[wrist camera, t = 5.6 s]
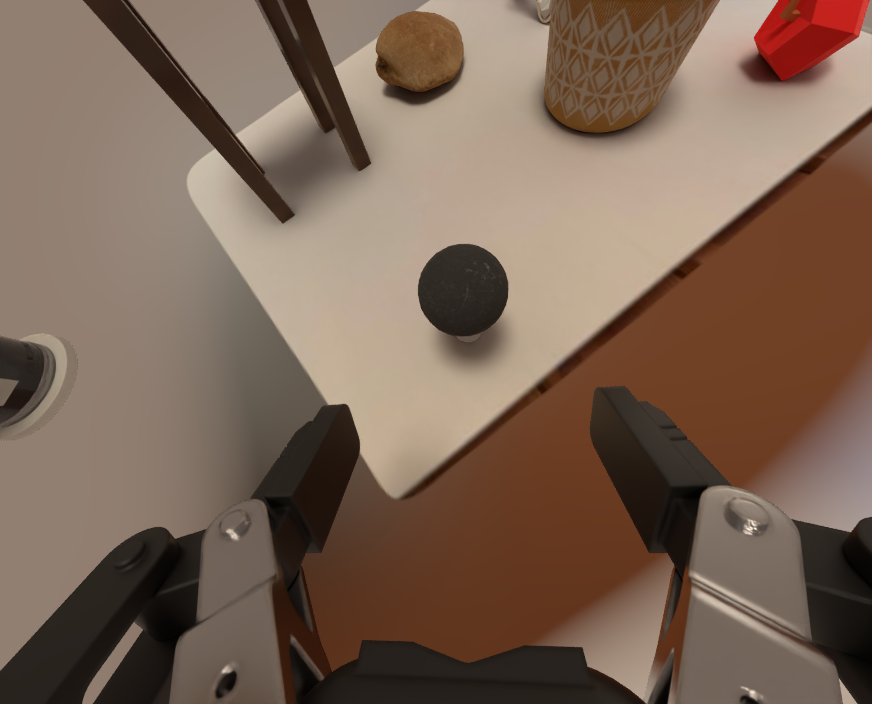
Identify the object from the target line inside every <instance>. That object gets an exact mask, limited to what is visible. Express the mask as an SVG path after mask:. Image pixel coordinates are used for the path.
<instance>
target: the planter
mask: <svg viewBox="0 0 872 704" xmlns="http://www.w3.org/2000/svg"><path fill="white" fill-rule="evenodd" d="M719 1H720V0H552V6H551V18H550V29H549V41H548V52H547V64H546V75H545V87H544V95H545V101H546V104H547V107H548V109H549V111H550V112H551V114H552V115H553V116H554V117H555V118H556V119H557V120H558V121H559V122H561V123H562V124H564V125H566V126H568V127H570V128H573V129H576V130H579V131H584V132H593V133H600V132H610V131H615V130H619V129H622V128H625V127H627V126H630V125H632V124H634V123H635V122H637V121H639V120H640V119H642V118H643V117H645V116H646V115H647V114H648V113H649V112H650V111H651V110H652V109H653V108H654V107H655V106H656V104H657V103H658V102H659V100H660V98H661V97H662V95H663V94H664V92H665V90H666V89H667V87H668V85H669V84H670V82H671V80H672V79H673V77H674V75H675V74H676V72H677V70H678V69H679V67H680V65H681V64H682V62H683V60H684V59H685V57H686V55H687V54H688V52H689V50H690V49H691V47H692V45H693V44H694V42H695V40H696V39H697V37H698V36H699V34H700V32H701V31H702V29H703V27H704V26H705V24H706V22H707V21H708V19H709V17H710V16H711V14H712V12H713V11H714V9H715V7H716V6H717V4H718V2H719Z"/></svg>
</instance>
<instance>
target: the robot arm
mask: <svg viewBox="0 0 872 704" xmlns="http://www.w3.org/2000/svg"><path fill="white" fill-rule="evenodd" d="M55 370H56V362H55V357H54V355H53V353H52V351H51V350H50V349H49V348H48V347H46V346H44V345H41V344H37V343H33V342H27V341H20V340H16V339H11V338H7V337H3V336H0V428H2V427H8V426H11V425H13V424H16V423H18V422H19V421H21V420H23V419H24V418H25V417H27V416H28V415H29V414H31V413H32V412H33V411H34V410H35V409H36V408H37V407H38V405H39V404H40V403H41V402H42V400H43V399H44V398H45V396H46V394H47V393H48V391H49V389H50V387H51V385H52V382H53V379H54V375H55ZM590 435H591V440H592V443H593V446H594V448H595V449H596V451H597V454H598V455H599V457H600V459H601V461H602V463H603V465H604V467H605V469H606V471H607V473H608V475H609V477H610V478H611V480H612V482H613V484H614V486H615V488H616V490H617V492H618V494H619V496H620V498H621V500H622V502H623V503H624V505H625V507H626V509H627V511H628V513H629V515H630V517H631V519H632V520H633V523H634V525H635V526H636V528H637V530H638V532H639V534H640V536H641V538H642V540H643V542H644V544H645V546H646V548H647V550H648V551H649V553H668V555H669V556H670V558H671V560H672V562H673V563H674V568H673V571H672V574H671V579H670V585H669V590H668V595H667V600H666V605H665V610H664V615H663V620H662V625H661V630H660V635H659V641H658V645H657V649H656V654H655V658H654V661H653V664H652V668H651V671H650V675H649V679H648V683H647V687H646V692H645V697H644V701H643V700H641V699H640V698H639V697H638V696H637V695H635V694H634V693H633V692H632V691H631V690H629V689H628V688H626V687H625V686H623V685H622V684H620V683H619V682H617V681H616V680H614V679H613V678H611V677H609V676H607V675H605V674H603V673H601V672H599V671H597V670H595V669H592V668H590V667H587V663H586V660H585V656H584V652H583V648H582V647H557V646H556V647H555V646H521V647H519V648H515V649H512V650H509V651H506V652H503V653H500V654H497V655H494V656H490V657H488V658H485V659H481V660H478V661H475V662H471V663H465V662H461V661H459V660H456V659H454V658H451V657H449V656H447V655H444V654H442V653H439V652H437V651H434V650H432V649H429V648H427V647H424V646H422V645H419V644H417V643H414V642H404V641H372V640H362V643H361V648H360V652H359V657H358V659H356V660H353V661H351V662H349V663H347V664H345V665H343V666H341V667H339V668H338V669H336V670H335V671H333V672H332V671H331V668H330V665H329V662H328V659H327V657H326V654H325V652H324V649H323V647H322V644H321V642H320V638H319V635H318V631H317V627H316V623H315V618H314V614H313V610H312V605H311V601H310V597H309V593H308V588H307V584H306V580H305V576H304V571H303V568H302V566H301V563H302V561H303V558H304V556H305V554H306V553H321V552H322V550H323V547H324V545H325V542H326V539H327V537H328V534H329V532H330V529H331V526H332V523H333V521H334V518H335V516H336V513H337V511H338V508H339V505H340V503H341V500H342V497H343V495H344V493H345V490H346V487H347V485H348V482H349V480H350V477H351V474H352V472H353V469H354V467H355V464H356V461H357V459H358V456H359V452H360V440H359V436H358V433H357V430H356V427H355V424H354V421H353V418H352V415H351V412H350V409H349V407H348V405H346V404H339V405H325V406H323V407H322V408H321V409H320V410H319V412H318V414H317V415H316V417H315V418H314V420H313V421H309V422H307V423H306V424H305V425H304V426H303V427H302V428H300V429H299V430H298V431H297V432H296V433H295V434H294V436H293V437H292V438H291V440H290V441H289V443H288V444H287V447H285V449H284V450H283V452H282V453H281V455H280V458H278V459H277V461H276V462H275V463H274V465H273V466H272V468H271V469H270V471H269V472H268V474H267V475H266V476H265V478H264V479H263V481H262V482H261V484H260V485H259V487H258V488H257V490H256V491H255V493H254V494H253V495H252V497H251V498H250V499H249V500H244V501H242V502H239V503H237V504H234V505H233V506H231V507H229V508H228V509H226V510H225V511H223V512H222V513H221V514H220V515H219V516H218V517H216V518H215V520H213V522H212V523H211V524H210V525H209V527H208V528H207V529H205V530H202V531H199V532H196V533H193V534H189V535H186V536H183V537H180V538H177V539H175V538H174V537H173V536H172V535H171V534H170V532H169V531H168V530H167V529H165V528H162V527H154V528H150V529H147V530H144V531H142V532H139V533H137V534H135V535H134V536H132V537H130V538H129V539H127V540H125V541H124V542H123V543H121V544H120V545H118V546H117V547H116V548H115V549H114V550H112V552H110V553H109V554H108V555H107V556H106V557H105V558H104V559H103V560H102V561H101V562H100V564H99V565H98V566H97V567H96V568H95V569H94V570H93V571H92V572H91V573H90V574H89V575H88V577H87V578H86V579H85V580H84V581H83V582H82V583H81V584H80V585H79V586H78V588H76V590H75V591H74V592H73V593H72V594H71V595H70V596H69V597H68V598H67V599H66V600H65V602H64V603H63V604H62V605H61V606H60V607H59V608H58V609H57V610H56V611H55V612H54V613H53V615H52V616H51V617H50V618H49V619H48V620H47V621H46V622H45V623H44V624H43V625H42V627H41V628H40V629H39V630H38V631H37V632H36V633H35V634H34V635H33V636H32V637H31V639H30V640H29V641H28V642H27V643H26V644H25V645H24V646H23V647H22V648H21V649H20V650H19V652H18V653H17V654H16V655H15V656H14V657H13V658H12V659H11V660H10V661H9V662H8V663H7V664H6V666H5V667H4V668H3V669H2V670H1V671H0V704H82V701H83V697H84V695H85V692H86V690H87V688H88V686H89V684H90V682H91V681H92V679H93V678H94V677H95V675H96V673H97V672H98V671H99V670H100V668H101V667H102V665H103V664H104V662H105V661H106V660H107V658H108V657H109V656H110V654H111V653H112V651H113V650H114V649H115V647H116V646H117V644H118V643H119V642H120V640H121V639H122V637H123V636H124V635H125V633H126V632H127V630H128V629H129V628H130V626H131V625H132V623H133V622H135V623H136V624H137V625H138V626H140V627H141V628H142V629H143V631H142V633H141V634H140V635H139V637H138V638H137V640H136V641H135V643H134V644H133V646H132V647H131V649H130V650H129V652H128V653H127V654H126V656H125V657H124V659H123V661H122V662H121V663H120V665H119V666H118V668H117V669H116V671H115V672H114V674H113V675H112V676H111V678H110V680H109V681H108V682H107V684H106V685H105V687H104V688H103V690H102V691H101V693H100V694H99V696H98V697H97V699H96V700H95V702H94V703H93V704H843V702H842V695H841V690H840V683H839V679H840V680H841V681H842V683H843V684H844V686H845V687H846V688H847V690H848V691H849V693H850V694H851V695H852V697H853V698H854V699H855V701H856V702H857V704H872V517H869V518H864V519H862V520H861V521H859V523H858V524H857V525H856V527H855V528H854V529H853V530H852V532H847V531H842V530H838V529H833V528H829V527H824V526H819V525H815V524H810V523H805V522H801V521H796V520H793V519H790V518H789V517H788V516H787V515H786V514H785V513H784V512H783V511H782V510H781V509H779V508H778V507H777V506H775V505H774V504H772V503H771V502H769V501H767V500H766V499H764V498H762V497H760V496H758V495H756V494H754V493H752V492H749V491H747V490H743V489H740V488H736V487H733V486H731V484H730V483H729V482H728V481H727V480H726V479H725V478H724V477H723V476H722V475H721V474H720V472H719V471H718V470H717V469H716V468H715V467H714V466H713V465H712V464H711V463H710V461H709V460H707V458H706V457H705V456H704V455H703V454H702V453H701V452H700V451H699V450H698V448H697V447H696V446H695V445H694V444H693V443H692V442H691V441H690V440H687V437H686V435H685V434H684V433H683V432H682V431H681V430H680V429H679V428H677V427H676V425H675V423H674V422H673V421H672V420H671V419H670V418H669V417H668V416H667V415H666V414H665V413H664V412H663V411H661V410H660V409H658V408H656V407H655V406H653V405H651V404H650V403H648V402H646V401H644V402H638V401H637V400H636V398H635V397H634V396H633V395H632V394H631V392H630V391H629V390H628V389H627V388H626V387H625V386H615V387H614V386H613V387H600V388H599V387H598V388H596V389H595V391H594V397H593V406H592V413H591V422H590ZM814 644H815V645H814Z"/></svg>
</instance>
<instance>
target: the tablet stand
mask: <svg viewBox="0 0 872 704" xmlns="http://www.w3.org/2000/svg"><path fill="white" fill-rule="evenodd" d="M536 3H537V10H538V16H539V19H540V20H541V21H542V22H543V23H547V22H549V21H550V18H551V6H552V0H536Z"/></svg>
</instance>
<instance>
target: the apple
mask: <svg viewBox="0 0 872 704" xmlns="http://www.w3.org/2000/svg"><path fill="white" fill-rule="evenodd" d="M869 1H870V0H778V2H777V3H776V5H775V6H774V8H773V9H772V11H771V12H770V14H769V15H768V17H767V18H766V20H765V21H764V23H763V24H762V26H761V27H760V29H759V30H758V32H757V33H756V35H755V36H754V40H755V42H756V45H757V48H758V51H759V53H760V54H761V56H762V57H763V58H764V59H765V61H766V62H767V63H768V64H769V65H770V67H771V68H772V69H773V70H774V72H775V73H776V74H777V75H778V77H779V78H780V79H781V80H782V81H784V80H786V79H788V78H790V77H792V76H794V75H796V74H799V73H801V72H803V71H805V70H807V69H809V68H811V67H813V66H815V65H816V64H818V63H820V62H821V61H823V60H824V59H826V58H827V57H829V56H830V55H832V54H833V53H835V52H836V51H838V50H839V49H841V48H842V47H844V46H845V45H847V44H848V43H850V42H852V41H853V40H855V39H856V38H858V37H859V34H860V31H861V28H862V24H863V21H864V18H865V14H866V11H867V7H868V4H869Z"/></svg>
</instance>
